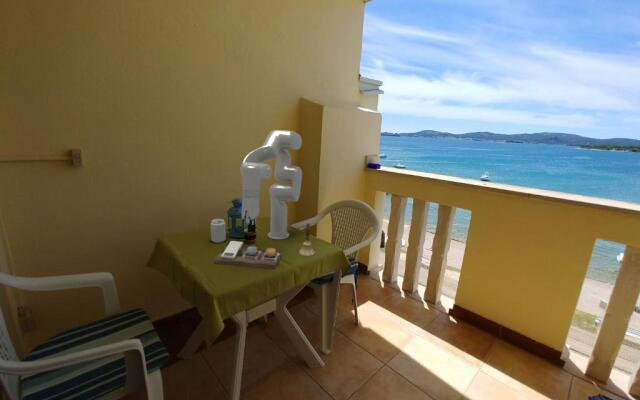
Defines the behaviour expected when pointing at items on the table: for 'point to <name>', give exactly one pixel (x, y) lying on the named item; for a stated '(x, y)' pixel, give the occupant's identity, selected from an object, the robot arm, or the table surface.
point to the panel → (250, 259)
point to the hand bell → (307, 244)
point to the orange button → (270, 252)
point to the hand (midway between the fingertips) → (251, 232)
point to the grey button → (251, 250)
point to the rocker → (232, 250)
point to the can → (218, 230)
